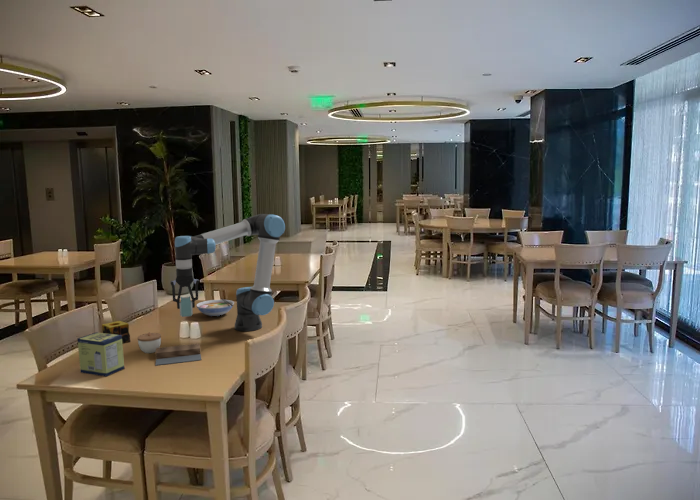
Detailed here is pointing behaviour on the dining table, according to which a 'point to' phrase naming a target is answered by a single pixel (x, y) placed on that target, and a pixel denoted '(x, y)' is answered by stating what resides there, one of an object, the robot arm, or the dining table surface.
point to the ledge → (177, 351)
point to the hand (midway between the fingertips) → (186, 314)
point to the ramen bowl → (215, 307)
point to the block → (186, 306)
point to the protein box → (101, 354)
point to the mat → (178, 359)
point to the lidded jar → (149, 342)
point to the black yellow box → (117, 330)
